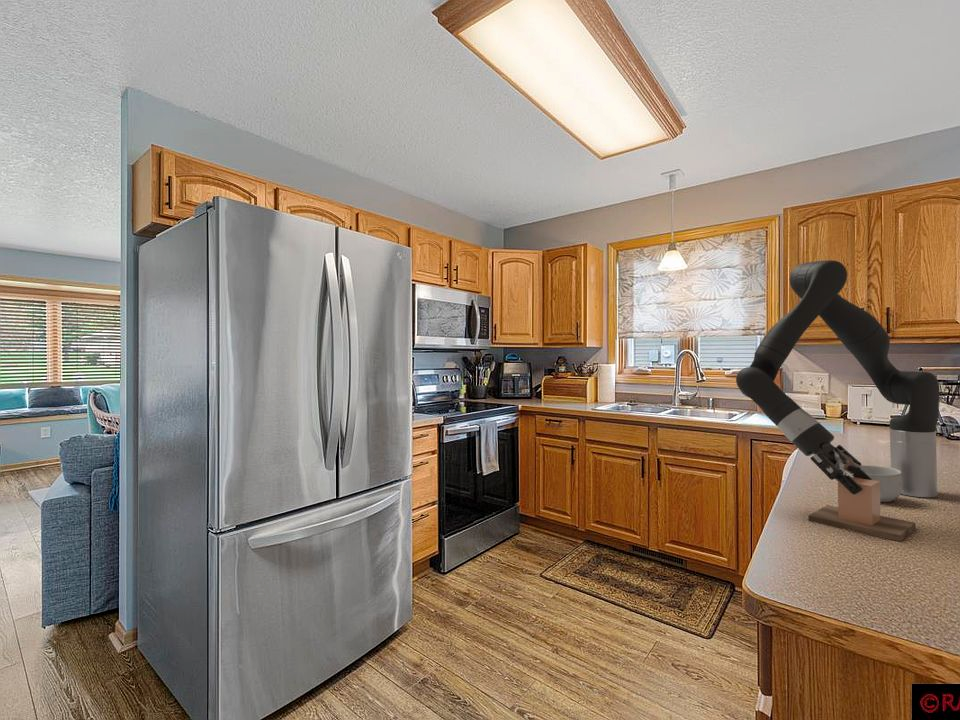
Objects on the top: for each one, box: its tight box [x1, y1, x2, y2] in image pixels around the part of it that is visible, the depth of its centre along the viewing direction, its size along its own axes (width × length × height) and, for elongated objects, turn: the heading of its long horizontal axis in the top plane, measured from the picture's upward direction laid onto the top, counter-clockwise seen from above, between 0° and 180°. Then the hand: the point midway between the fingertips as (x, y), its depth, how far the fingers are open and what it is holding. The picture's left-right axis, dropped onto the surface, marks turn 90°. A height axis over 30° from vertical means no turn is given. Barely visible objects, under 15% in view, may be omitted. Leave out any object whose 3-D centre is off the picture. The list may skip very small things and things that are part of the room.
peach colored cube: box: [837, 477, 882, 525], centre depth 104 cm, size 6×6×8 cm
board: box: [807, 504, 916, 542], centre depth 104 cm, size 12×16×1 cm
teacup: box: [846, 464, 902, 503], centre depth 124 cm, size 14×11×8 cm
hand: (865, 488), depth 103 cm, fingers open, 8 cm apart
